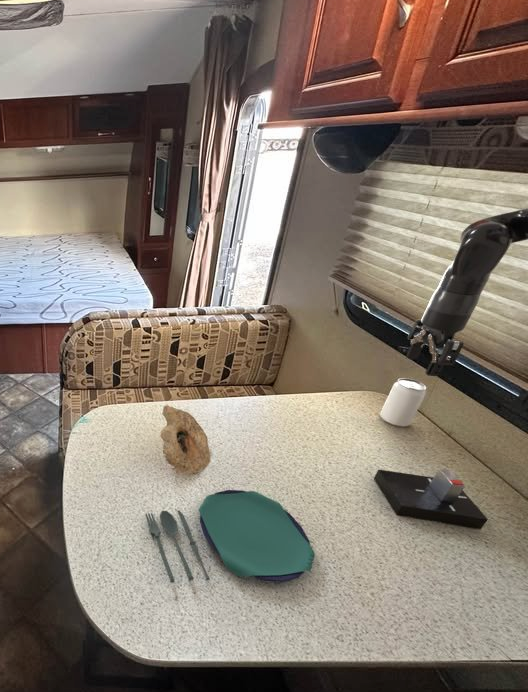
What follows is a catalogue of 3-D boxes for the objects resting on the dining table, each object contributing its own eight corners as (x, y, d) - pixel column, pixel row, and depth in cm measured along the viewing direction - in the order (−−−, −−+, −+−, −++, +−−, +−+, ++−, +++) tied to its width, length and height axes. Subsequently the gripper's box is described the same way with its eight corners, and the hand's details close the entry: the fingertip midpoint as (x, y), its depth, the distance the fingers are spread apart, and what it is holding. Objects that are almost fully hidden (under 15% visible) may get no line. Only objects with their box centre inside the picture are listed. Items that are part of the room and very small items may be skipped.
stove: (448, 489, 82) (454, 479, 81) (480, 529, 74) (488, 519, 72) (373, 478, 86) (378, 468, 84) (396, 515, 77) (402, 504, 76)
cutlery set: (335, 582, 66) (339, 575, 65) (170, 597, 65) (171, 589, 64) (269, 492, 84) (272, 485, 83) (139, 502, 83) (140, 495, 82)
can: (407, 416, 104) (425, 381, 98) (411, 430, 99) (431, 393, 94) (378, 410, 107) (394, 375, 102) (380, 422, 102) (397, 386, 97)
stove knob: (428, 485, 80) (439, 467, 78) (440, 486, 79) (451, 469, 77) (441, 501, 76) (453, 483, 74) (453, 503, 76) (465, 485, 73)
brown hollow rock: (206, 487, 93) (223, 477, 87) (152, 478, 92) (165, 466, 86) (195, 424, 105) (208, 410, 99) (146, 415, 104) (157, 401, 98)
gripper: (492, 321, 81) (457, 383, 88) (449, 298, 93) (422, 354, 100) (450, 318, 82) (419, 379, 90) (413, 296, 95) (388, 351, 102)
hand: (420, 366), depth 95 cm, fingers open, 8 cm apart
